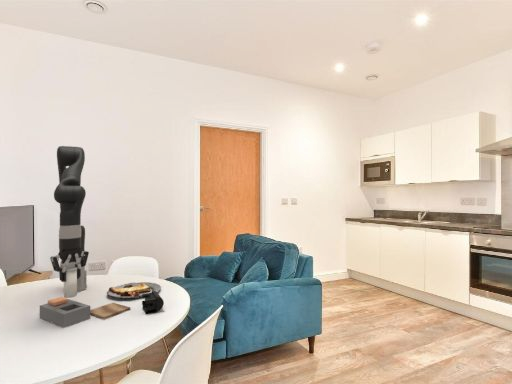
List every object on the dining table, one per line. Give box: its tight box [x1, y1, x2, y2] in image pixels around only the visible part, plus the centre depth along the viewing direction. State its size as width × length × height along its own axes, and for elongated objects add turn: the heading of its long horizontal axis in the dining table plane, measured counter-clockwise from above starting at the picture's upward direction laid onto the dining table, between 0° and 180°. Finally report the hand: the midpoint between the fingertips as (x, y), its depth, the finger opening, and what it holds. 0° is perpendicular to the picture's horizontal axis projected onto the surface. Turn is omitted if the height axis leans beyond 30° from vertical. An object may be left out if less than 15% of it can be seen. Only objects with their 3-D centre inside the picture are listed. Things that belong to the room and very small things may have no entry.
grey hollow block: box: [39, 298, 91, 329], centre depth 124 cm, size 10×18×5 cm, turn 59°
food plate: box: [106, 281, 162, 299], centre depth 155 cm, size 25×23×4 cm
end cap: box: [141, 290, 164, 315], centre depth 132 cm, size 10×7×7 cm
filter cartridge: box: [63, 267, 78, 299], centre depth 122 cm, size 5×5×11 cm
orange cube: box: [47, 296, 69, 306], centre depth 126 cm, size 5×5×5 cm
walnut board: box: [90, 302, 131, 320], centre depth 130 cm, size 12×12×1 cm
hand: (70, 279), depth 122 cm, fingers closed on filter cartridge, 4 cm apart
